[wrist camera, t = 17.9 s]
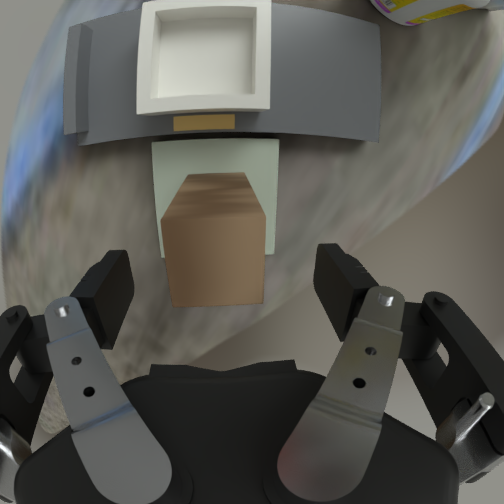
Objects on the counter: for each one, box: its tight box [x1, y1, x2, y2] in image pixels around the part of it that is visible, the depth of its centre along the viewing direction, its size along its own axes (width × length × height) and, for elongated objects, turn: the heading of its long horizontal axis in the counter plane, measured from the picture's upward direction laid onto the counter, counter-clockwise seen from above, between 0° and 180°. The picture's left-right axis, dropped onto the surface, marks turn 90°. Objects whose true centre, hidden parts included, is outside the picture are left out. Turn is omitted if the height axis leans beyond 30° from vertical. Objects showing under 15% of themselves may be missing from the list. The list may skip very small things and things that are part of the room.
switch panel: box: [63, 3, 381, 146], centre depth 15 cm, size 22×10×4 cm, turn 89°
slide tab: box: [137, 0, 271, 116], centre depth 13 cm, size 7×7×4 cm
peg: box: [160, 172, 266, 307], centre depth 16 cm, size 4×4×10 cm
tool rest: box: [152, 138, 279, 258], centre depth 21 cm, size 9×9×1 cm
